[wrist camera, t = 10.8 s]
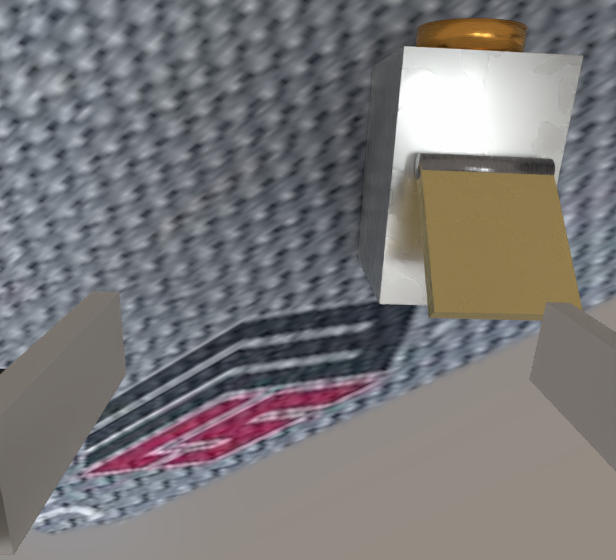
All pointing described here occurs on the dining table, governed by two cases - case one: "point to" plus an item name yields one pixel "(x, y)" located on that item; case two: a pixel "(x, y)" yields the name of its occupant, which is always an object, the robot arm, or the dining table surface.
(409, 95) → the block
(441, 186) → the plate
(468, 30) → the pin
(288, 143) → the dining table surface
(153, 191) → the dining table surface
